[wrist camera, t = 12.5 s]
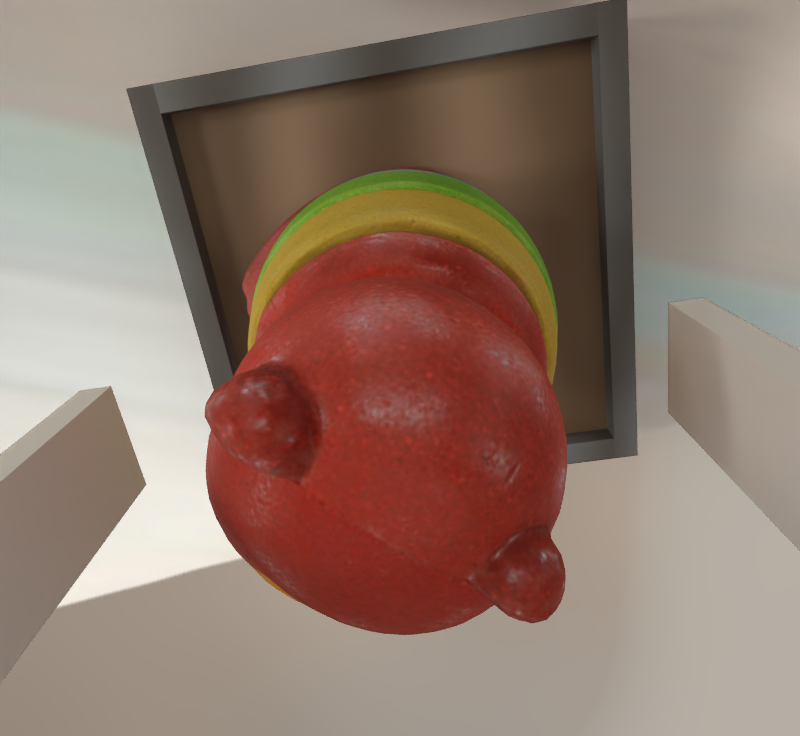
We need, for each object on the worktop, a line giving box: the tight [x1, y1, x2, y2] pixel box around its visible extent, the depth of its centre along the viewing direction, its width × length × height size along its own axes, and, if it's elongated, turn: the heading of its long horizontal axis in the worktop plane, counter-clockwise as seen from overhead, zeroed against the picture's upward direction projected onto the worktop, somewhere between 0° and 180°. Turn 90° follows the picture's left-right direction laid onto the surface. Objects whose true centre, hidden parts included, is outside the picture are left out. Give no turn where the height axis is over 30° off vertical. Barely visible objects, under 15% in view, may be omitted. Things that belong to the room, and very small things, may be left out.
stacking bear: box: [205, 167, 567, 635], centre depth 17 cm, size 11×10×18 cm
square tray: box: [127, 0, 637, 464], centre depth 27 cm, size 18×18×5 cm
